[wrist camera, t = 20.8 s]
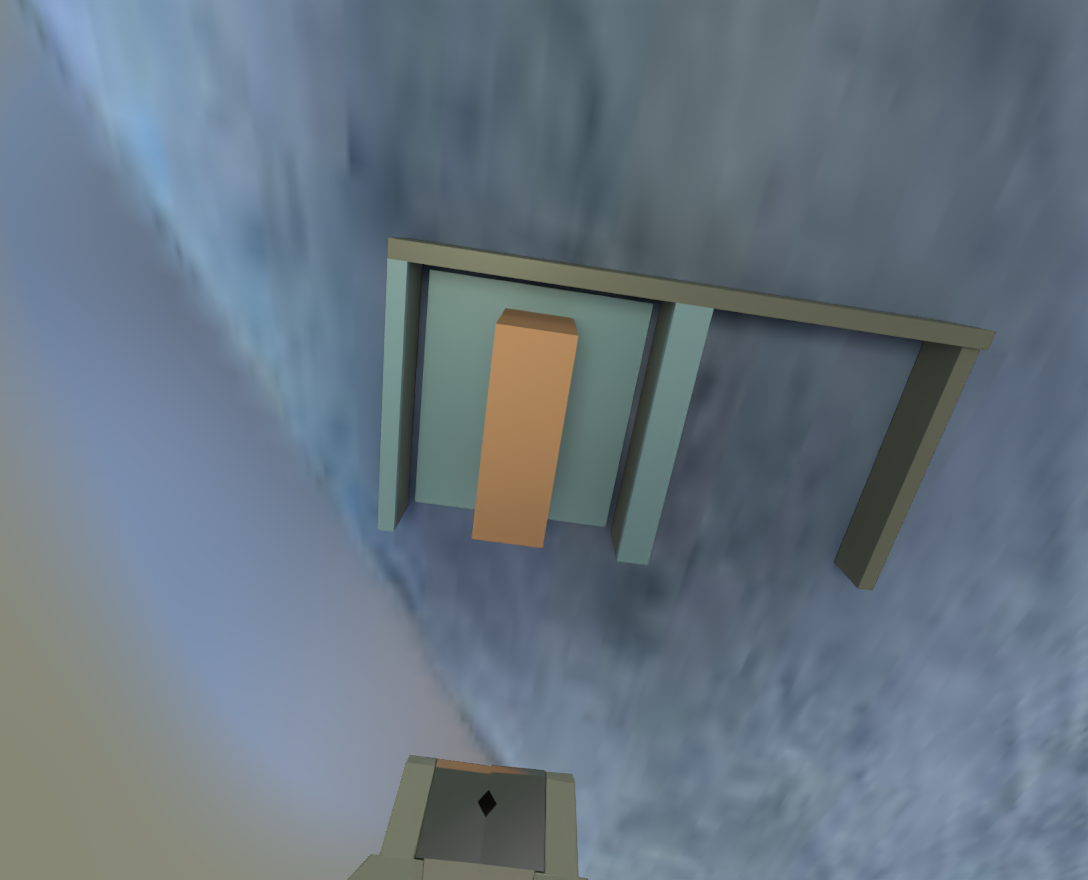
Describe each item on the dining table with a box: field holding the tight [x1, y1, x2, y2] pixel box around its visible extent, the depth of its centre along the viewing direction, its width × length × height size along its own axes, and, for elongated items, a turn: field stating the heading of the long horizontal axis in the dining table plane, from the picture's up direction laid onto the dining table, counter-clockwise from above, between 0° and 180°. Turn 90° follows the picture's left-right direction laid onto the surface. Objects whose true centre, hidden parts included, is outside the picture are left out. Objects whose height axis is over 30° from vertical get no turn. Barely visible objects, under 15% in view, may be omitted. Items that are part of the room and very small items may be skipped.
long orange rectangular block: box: [472, 308, 578, 548], centre depth 30 cm, size 4×12×6 cm, turn 172°
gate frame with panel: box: [378, 238, 996, 590], centre depth 32 cm, size 32×17×4 cm, turn 82°
